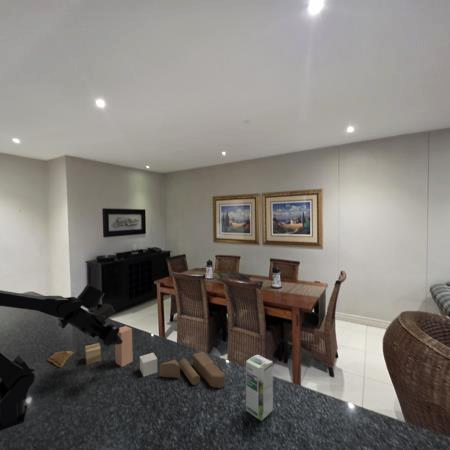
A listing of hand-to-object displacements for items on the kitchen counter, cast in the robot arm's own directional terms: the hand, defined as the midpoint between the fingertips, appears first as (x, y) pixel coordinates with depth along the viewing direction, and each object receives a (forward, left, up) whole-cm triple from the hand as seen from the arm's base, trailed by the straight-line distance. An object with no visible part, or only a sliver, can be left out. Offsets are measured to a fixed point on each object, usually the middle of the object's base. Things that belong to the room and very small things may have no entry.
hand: (114, 339), depth 94 cm
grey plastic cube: (-10, -10, -11) cm, 17 cm away
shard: (+17, +17, -11) cm, 26 cm away
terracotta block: (+1, -3, -10) cm, 11 cm away
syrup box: (-47, -31, -11) cm, 57 cm away
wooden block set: (-23, -21, -11) cm, 33 cm away
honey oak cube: (+10, +7, -11) cm, 16 cm away
